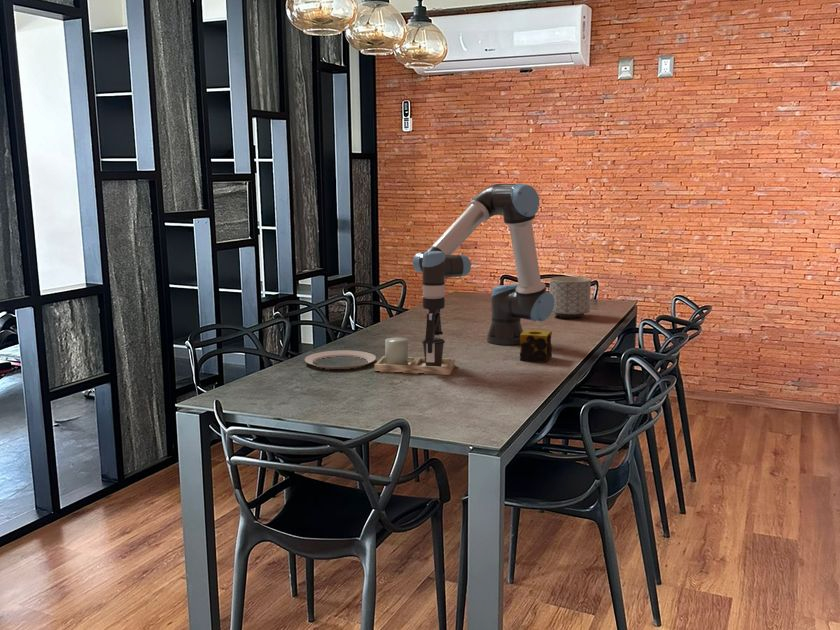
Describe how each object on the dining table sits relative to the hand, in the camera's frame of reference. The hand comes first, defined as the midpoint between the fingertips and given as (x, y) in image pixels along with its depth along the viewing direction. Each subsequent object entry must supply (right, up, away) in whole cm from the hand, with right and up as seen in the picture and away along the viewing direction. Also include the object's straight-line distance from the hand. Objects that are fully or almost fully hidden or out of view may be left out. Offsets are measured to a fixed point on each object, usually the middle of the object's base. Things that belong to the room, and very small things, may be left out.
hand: (433, 357), depth 269 cm
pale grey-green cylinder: (-13, -4, +3) cm, 14 cm away
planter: (+66, +14, +101) cm, 122 cm away
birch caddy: (-6, -4, +2) cm, 8 cm away
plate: (-33, -3, +11) cm, 35 cm away
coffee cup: (0, -3, 0) cm, 3 cm away
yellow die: (+38, -2, +16) cm, 41 cm away
